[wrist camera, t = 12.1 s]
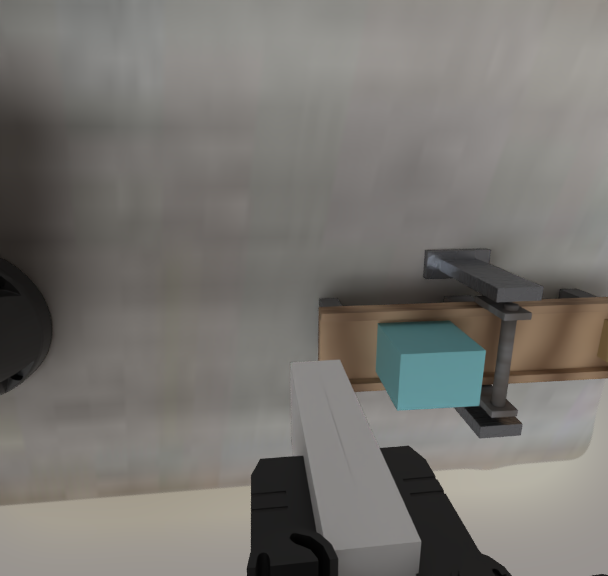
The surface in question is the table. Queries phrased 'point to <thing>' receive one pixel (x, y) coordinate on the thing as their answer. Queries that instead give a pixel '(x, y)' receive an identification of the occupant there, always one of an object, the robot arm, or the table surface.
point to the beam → (482, 340)
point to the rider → (429, 365)
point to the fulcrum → (497, 287)
